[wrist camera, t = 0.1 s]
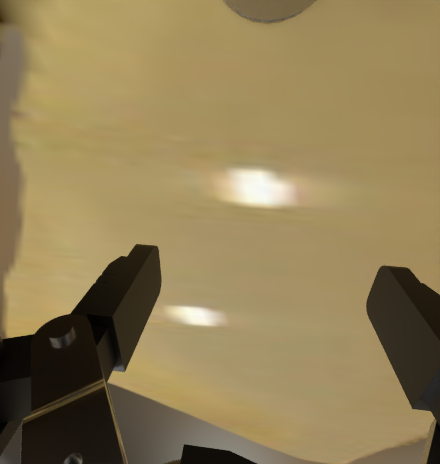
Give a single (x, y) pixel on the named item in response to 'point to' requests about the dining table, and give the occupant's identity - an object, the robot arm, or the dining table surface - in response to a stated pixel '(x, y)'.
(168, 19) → the dining table surface
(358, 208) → the dining table surface
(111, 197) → the dining table surface
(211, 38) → the dining table surface
